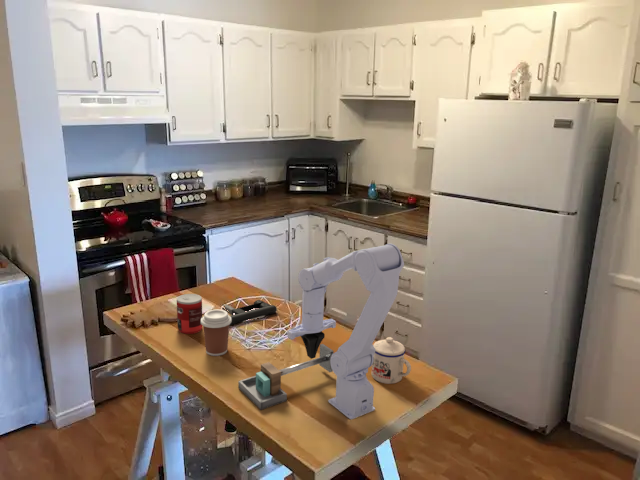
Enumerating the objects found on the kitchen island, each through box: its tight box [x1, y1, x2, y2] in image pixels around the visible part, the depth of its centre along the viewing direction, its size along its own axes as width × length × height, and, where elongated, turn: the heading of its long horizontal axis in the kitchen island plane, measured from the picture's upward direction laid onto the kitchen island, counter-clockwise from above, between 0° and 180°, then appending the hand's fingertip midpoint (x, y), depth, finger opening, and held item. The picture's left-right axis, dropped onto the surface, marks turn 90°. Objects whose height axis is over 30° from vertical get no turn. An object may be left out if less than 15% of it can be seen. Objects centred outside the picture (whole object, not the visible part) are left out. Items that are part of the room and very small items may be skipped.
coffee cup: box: [201, 309, 232, 357], centre depth 157 cm, size 9×9×12 cm
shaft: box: [278, 343, 335, 377], centre depth 143 cm, size 5×17×6 cm, turn 126°
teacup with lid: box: [371, 336, 412, 385], centre depth 146 cm, size 12×9×12 cm
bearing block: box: [260, 361, 282, 396], centre depth 137 cm, size 6×2×7 cm, turn 36°
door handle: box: [221, 299, 278, 326], centre depth 186 cm, size 3×20×16 cm
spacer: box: [255, 371, 270, 397], centre depth 136 cm, size 5×2×5 cm, turn 36°
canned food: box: [176, 293, 203, 335], centre depth 171 cm, size 8×8×11 cm
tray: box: [237, 375, 288, 411], centre depth 137 cm, size 12×8×2 cm, turn 36°
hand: (311, 356), depth 144 cm, fingers closed
